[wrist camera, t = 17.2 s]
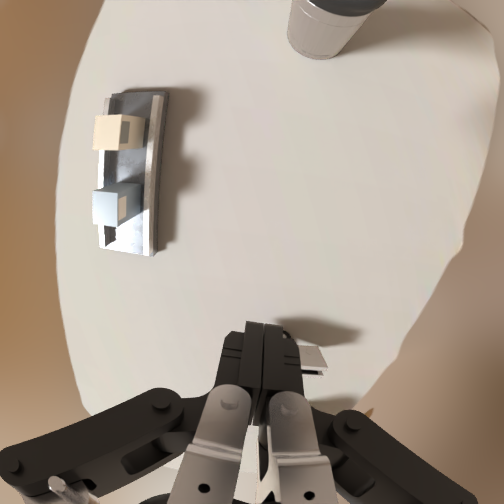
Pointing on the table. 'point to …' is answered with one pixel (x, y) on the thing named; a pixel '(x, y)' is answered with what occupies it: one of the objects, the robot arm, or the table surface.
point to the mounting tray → (136, 171)
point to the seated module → (118, 132)
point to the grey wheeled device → (310, 360)
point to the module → (116, 203)
